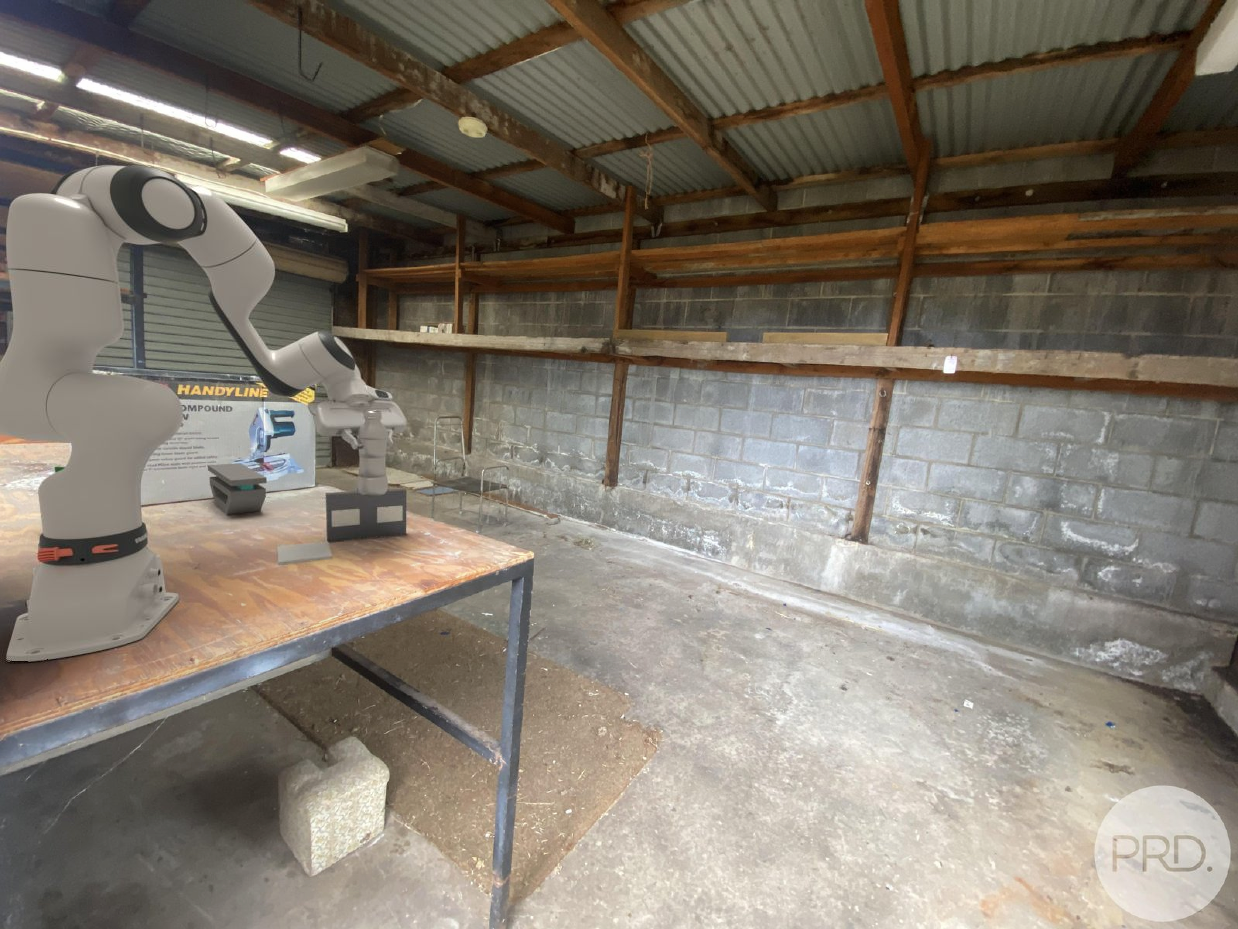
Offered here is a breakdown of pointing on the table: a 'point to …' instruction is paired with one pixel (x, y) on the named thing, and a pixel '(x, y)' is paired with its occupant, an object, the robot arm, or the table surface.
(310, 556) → the rubber pad
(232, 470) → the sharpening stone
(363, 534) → the panel
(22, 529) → the table surface
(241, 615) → the table surface
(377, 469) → the plastic bottle
